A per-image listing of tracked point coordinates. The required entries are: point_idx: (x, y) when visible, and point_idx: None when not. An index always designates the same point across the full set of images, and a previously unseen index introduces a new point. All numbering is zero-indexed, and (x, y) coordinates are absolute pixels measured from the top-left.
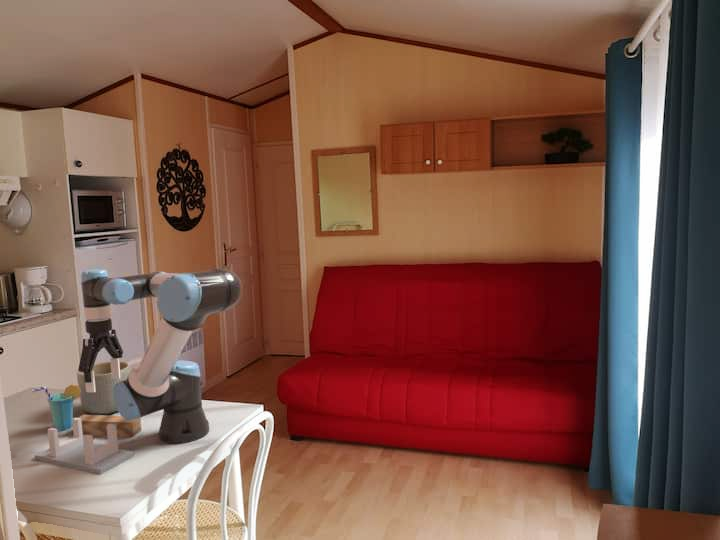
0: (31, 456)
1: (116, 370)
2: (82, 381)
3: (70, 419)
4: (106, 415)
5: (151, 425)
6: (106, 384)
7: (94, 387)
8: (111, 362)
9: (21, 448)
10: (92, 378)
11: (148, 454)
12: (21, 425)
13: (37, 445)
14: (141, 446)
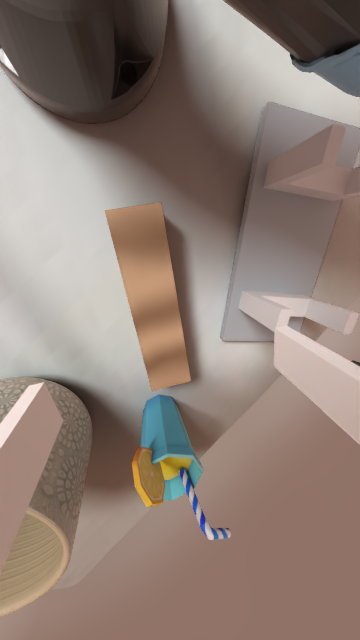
0: None
1: (25, 436)
2: (77, 519)
3: (160, 408)
4: (136, 331)
5: (66, 210)
6: None
7: (299, 336)
8: (4, 542)
9: (254, 395)
10: (357, 370)
11: (250, 60)
12: None
13: (240, 383)
14: (206, 130)
